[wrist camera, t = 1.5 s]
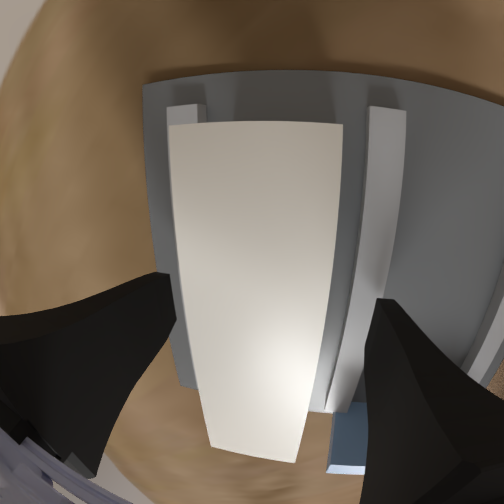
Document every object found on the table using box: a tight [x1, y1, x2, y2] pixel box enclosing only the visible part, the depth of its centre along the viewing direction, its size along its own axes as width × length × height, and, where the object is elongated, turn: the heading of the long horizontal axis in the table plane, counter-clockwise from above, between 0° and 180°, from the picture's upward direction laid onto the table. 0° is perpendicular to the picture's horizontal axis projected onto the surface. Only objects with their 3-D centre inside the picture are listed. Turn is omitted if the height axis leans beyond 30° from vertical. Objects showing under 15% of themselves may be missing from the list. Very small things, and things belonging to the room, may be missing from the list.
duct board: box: [143, 70, 504, 475], centre depth 9 cm, size 18×16×4 cm
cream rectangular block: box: [169, 121, 343, 463], centre depth 10 cm, size 4×12×4 cm, turn 1°
